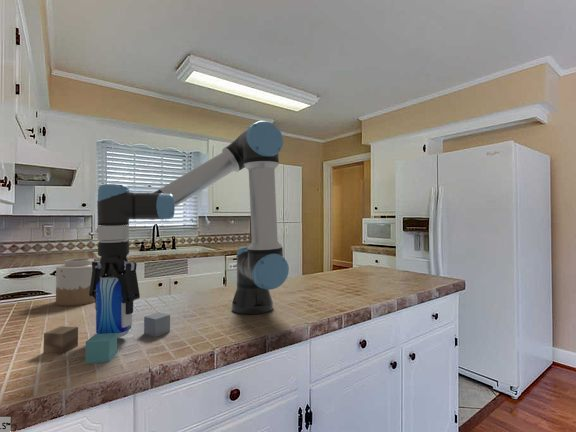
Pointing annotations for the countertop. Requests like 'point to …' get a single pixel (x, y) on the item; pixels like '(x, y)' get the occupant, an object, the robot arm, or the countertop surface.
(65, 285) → the vase
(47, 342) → the walnut cube
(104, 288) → the beer can
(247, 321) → the countertop surface
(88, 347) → the teal cube
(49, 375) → the countertop surface
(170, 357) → the countertop surface
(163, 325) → the grey cube
